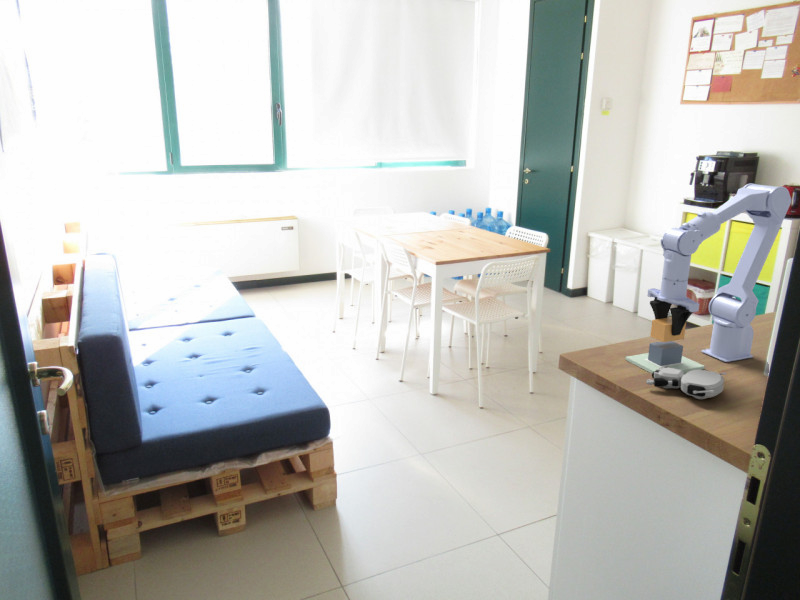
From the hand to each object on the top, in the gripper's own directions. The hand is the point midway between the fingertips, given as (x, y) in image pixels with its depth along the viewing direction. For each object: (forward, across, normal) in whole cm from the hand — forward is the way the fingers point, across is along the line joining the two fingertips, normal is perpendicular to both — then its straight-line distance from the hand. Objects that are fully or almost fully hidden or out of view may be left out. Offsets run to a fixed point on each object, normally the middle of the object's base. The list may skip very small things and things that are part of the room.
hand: (668, 331), depth 147 cm
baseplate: (+9, 0, 0) cm, 9 cm away
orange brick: (+2, 0, 0) cm, 2 cm away
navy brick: (+8, 0, 0) cm, 8 cm away
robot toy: (+9, +14, -7) cm, 18 cm away
